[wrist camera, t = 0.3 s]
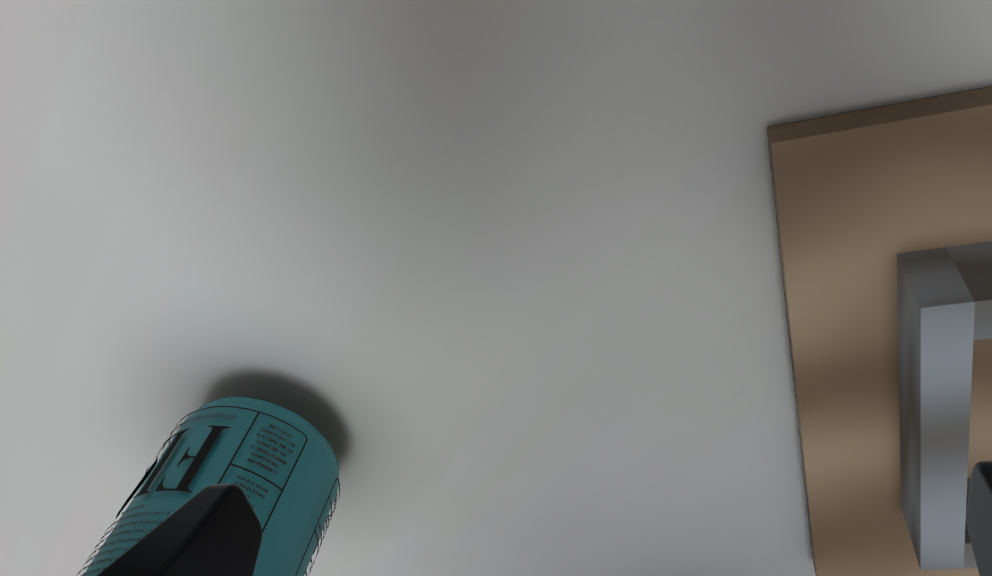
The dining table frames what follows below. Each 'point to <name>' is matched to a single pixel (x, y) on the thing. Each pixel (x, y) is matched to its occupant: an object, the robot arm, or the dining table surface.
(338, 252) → the dining table surface
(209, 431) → the beverage bottle
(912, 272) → the duct collar
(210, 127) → the dining table surface
